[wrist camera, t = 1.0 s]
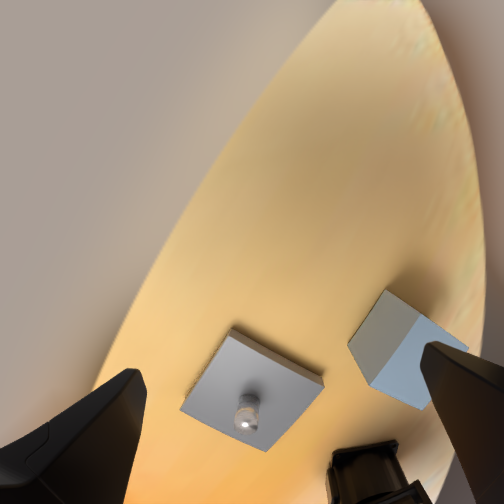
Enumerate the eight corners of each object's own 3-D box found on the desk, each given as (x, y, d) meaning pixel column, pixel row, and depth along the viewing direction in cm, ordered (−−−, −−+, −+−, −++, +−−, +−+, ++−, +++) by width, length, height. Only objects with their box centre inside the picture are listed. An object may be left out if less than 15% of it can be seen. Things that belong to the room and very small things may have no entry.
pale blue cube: (429, 319, 20) (468, 347, 14) (393, 370, 21) (422, 410, 15) (385, 289, 20) (421, 313, 14) (347, 345, 21) (369, 385, 15)
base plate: (322, 377, 21) (331, 410, 17) (266, 441, 23) (264, 476, 18) (231, 327, 21) (221, 354, 17) (184, 400, 23) (168, 432, 18)
